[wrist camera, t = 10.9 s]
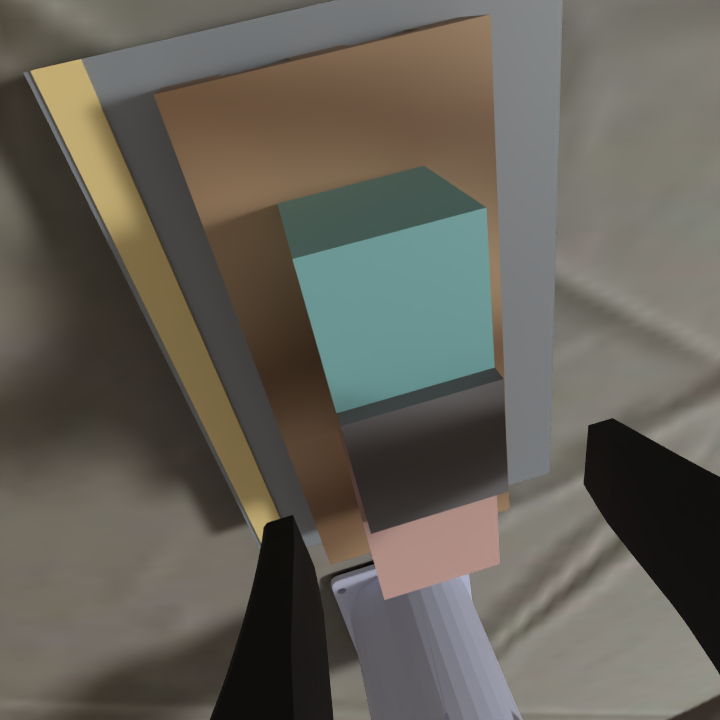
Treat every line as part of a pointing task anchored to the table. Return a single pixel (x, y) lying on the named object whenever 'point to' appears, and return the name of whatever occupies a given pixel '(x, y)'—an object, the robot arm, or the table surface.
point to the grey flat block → (196, 259)
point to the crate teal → (393, 283)
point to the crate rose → (432, 545)
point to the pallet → (279, 278)
